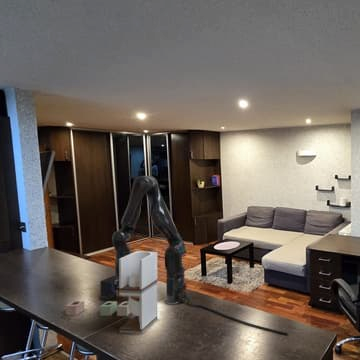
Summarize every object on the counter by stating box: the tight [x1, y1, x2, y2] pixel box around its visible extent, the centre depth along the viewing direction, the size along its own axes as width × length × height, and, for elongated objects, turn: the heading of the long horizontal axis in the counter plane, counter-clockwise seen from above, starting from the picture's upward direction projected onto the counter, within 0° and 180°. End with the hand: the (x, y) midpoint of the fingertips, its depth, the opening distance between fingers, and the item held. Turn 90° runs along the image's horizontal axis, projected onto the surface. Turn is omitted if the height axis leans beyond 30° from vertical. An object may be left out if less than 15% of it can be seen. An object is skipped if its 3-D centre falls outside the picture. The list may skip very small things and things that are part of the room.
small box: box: [99, 274, 118, 301], centre depth 160 cm, size 11×6×10 cm, turn 168°
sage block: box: [99, 300, 118, 317], centre depth 142 cm, size 5×5×5 cm
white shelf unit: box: [118, 250, 158, 335], centre depth 131 cm, size 11×11×35 cm
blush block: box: [65, 300, 85, 316], centre depth 141 cm, size 5×5×5 cm
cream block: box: [116, 301, 132, 317], centre depth 142 cm, size 5×5×5 cm
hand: (124, 293), depth 153 cm, fingers closed on mustard block, 5 cm apart
